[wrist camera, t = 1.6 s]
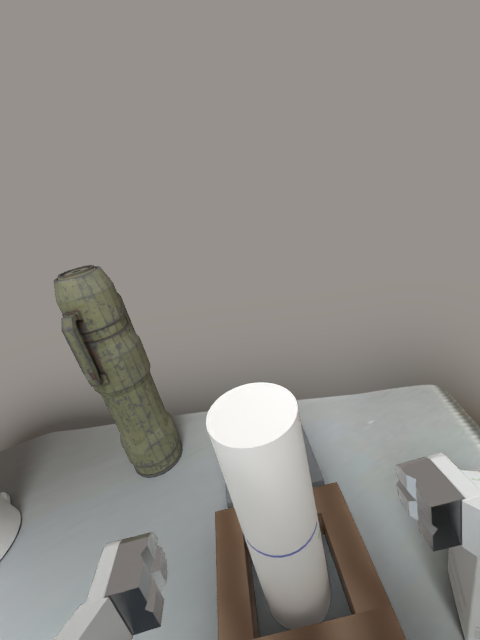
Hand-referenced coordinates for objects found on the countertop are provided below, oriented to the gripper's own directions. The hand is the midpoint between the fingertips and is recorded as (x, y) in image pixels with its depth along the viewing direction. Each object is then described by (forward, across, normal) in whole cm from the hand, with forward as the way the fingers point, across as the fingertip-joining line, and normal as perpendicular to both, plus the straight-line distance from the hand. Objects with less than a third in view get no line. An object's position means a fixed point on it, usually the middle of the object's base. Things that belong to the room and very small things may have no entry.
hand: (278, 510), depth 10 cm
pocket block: (+15, +1, +30) cm, 33 cm away
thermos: (+39, +20, +28) cm, 52 cm away
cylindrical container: (+15, +1, +30) cm, 34 cm away
